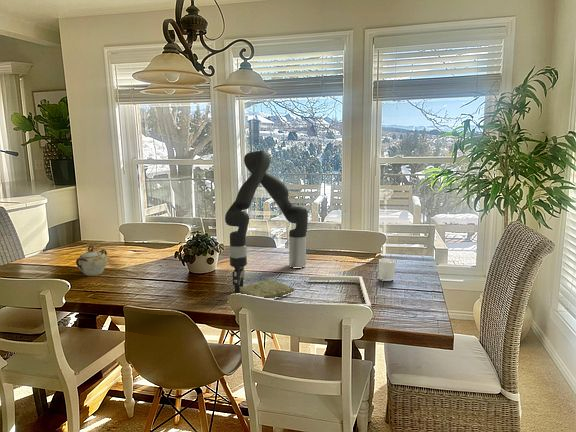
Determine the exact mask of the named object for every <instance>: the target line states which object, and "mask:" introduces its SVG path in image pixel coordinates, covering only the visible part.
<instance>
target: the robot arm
mask: <svg viewBox="0 0 576 432" xmlns="http://www.w3.org/2000/svg"><path fill="white" fill-rule="evenodd" d="M243 163H244V165H245V167H246V169H247V171H248V172H249V173H250V176H249V177H248V178H247V179H246V180H245V181H244V183H243V184H242V185H241V187H240V188H239V189H238V192H237V195H236V197H235V200H234V201H233V203H232V204H231V205H230V206H229V208H228V209H227V211H226V213H225V215H224V221H225V224H226V225H228V226H229V227H237V230H235V231H232V232H230V233H229V266H230V267H233V268H234V269H233V271H232V285H233V286H234V294H236V293H240V288H241V287H244V277H245V267H246V266H247V265H248V258H247V257H248V256H247V255H248V252H247V238H246V236H247V231H248V228H249V223H250V216H249V213H248V212H247V211H245V210H248V209H250V207H251V205H252V202H253V199H254V197H255V194H256V191H257V190H258V189H257V188H258V187H259V184H260V185H262V187H263V188H264V189H265V191H266V192H267V193H268V195H269V196H270V197H271V199H272V200H273V201H274V202H275V204H276V205H277V207H278V208H279V209H280V211H281V213H282V214H283V215H284V218H285V219H286V221H288V222H289V223H291V224H295V228H293V229H290V230H289V232H288V257H289V258H288V267H289V266H291V267H303V266H305V265H306V266H307V232H308V221H309V220H308V219H309V214H308V212H309V211H308V210H307V208H306V207H303V206H295V205H293V204H292V203H291V201H290V200H289V195H290V193H289V192H290V191H289V189H288V188H287V186H286V185H285V183H284V182H283V180H282V179H280V178H279V177H278V176H276V175H274V174H273V173H270V172H269V171H268V170H269V167H270V165H271V158H270V154H269V153H268V151H266V150H256V151H249V152H248V153H246V154H245V155H244V157H243Z"/></svg>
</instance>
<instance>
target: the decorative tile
mask: <svg viewBox="0 0 576 432" xmlns="http://www.w3.org/2000/svg"><path fill="white" fill-rule="evenodd" d="M293 291H294V292H295V288H294V287H292V286H290V285H286V284H285V283H282V282H278V281H276V280H271V279H267V280H261V281H258V282H255V283H251V284H248V285H245V286H243V287H240V293H241V294H247V295H253V296H259V297H264V298H275V297H278V296H283V295H285V294H288V293H291V292H293Z"/></svg>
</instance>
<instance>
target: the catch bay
mask: <svg viewBox="0 0 576 432" xmlns="http://www.w3.org/2000/svg"><path fill="white" fill-rule="evenodd" d="M308 276H309V277H308V281H309V280H359V282H360V286H361V289H360V291H361V290H362V293H363V296H362V298H363V297H364V300H365V303H366V304H365V303H358V304H359V305H365V306H368V307H370V308H371V309H372V303H371V301H370V298H369V294H368V291H367V289H366V285H365V281H364V278H363V276H358V275H353V276H352V275H314V274H313V275H311V274H310V275H308ZM360 286H359V287H360ZM362 293H361V294H362ZM364 300H363V301H364ZM314 303H315V304H347V303H344V302H343V303H341V302H337V303H335V302H333V303H332V302H314Z"/></svg>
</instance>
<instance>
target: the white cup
mask: <svg viewBox="0 0 576 432" xmlns="http://www.w3.org/2000/svg"><path fill="white" fill-rule="evenodd" d="M395 268H396V259H393V258H387V257H386V258H380V259H378V274H379V277H380V278H382V279H393V278H394V277H395V271H396V269H395ZM379 277H378V278H379ZM394 279H395V278H394ZM394 279H393V280H394Z"/></svg>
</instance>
